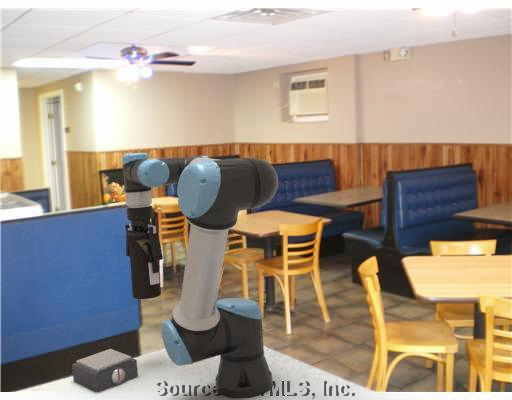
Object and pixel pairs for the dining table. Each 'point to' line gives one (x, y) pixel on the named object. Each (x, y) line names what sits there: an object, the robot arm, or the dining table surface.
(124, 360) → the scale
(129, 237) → the container
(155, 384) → the dining table surface
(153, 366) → the dining table surface
